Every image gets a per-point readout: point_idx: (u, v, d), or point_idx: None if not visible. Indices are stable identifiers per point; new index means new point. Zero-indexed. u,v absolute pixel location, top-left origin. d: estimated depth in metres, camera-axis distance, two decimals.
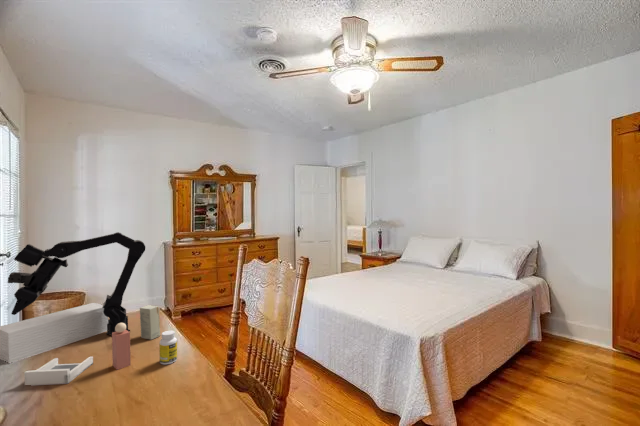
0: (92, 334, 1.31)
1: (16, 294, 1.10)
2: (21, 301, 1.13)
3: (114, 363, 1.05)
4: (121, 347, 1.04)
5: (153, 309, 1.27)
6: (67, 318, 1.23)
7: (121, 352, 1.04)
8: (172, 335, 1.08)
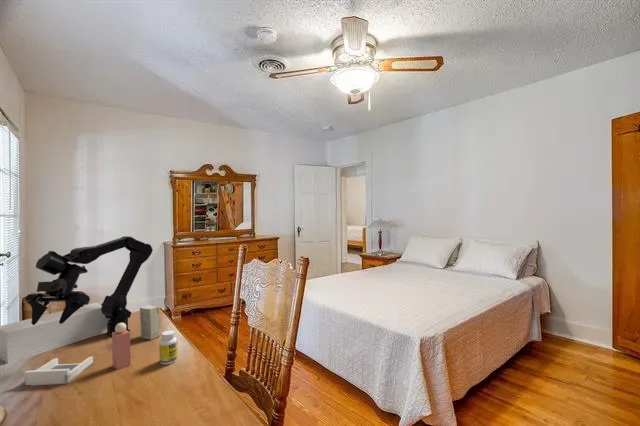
0: (92, 334, 1.30)
1: (79, 297, 1.09)
2: (70, 307, 1.09)
3: (114, 363, 1.05)
4: (121, 347, 1.04)
5: (153, 309, 1.27)
6: None
7: (121, 352, 1.04)
8: (172, 335, 1.08)
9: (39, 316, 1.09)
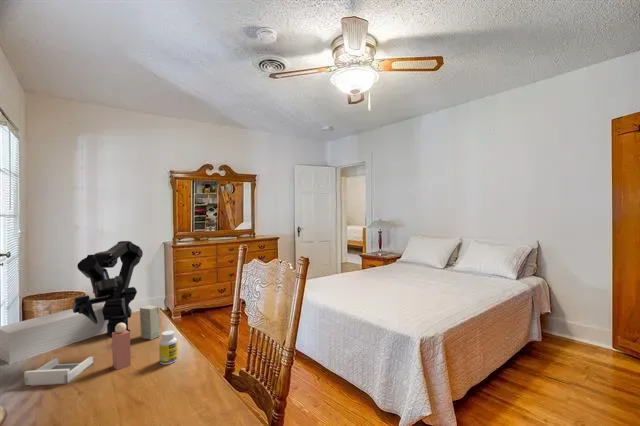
0: (93, 334, 1.30)
1: (136, 291, 1.20)
2: None
3: (114, 363, 1.05)
4: (121, 347, 1.04)
5: (153, 309, 1.27)
6: (68, 318, 1.23)
7: (121, 352, 1.04)
8: (172, 335, 1.08)
9: None
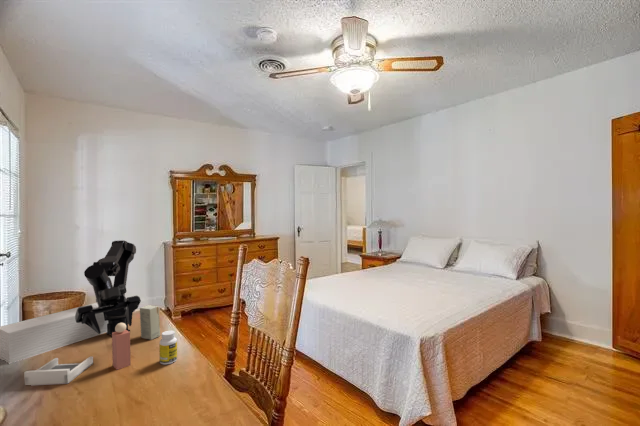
0: (93, 335, 1.30)
1: (140, 300, 1.18)
2: None
3: (114, 363, 1.05)
4: (121, 347, 1.04)
5: (153, 309, 1.27)
6: (68, 318, 1.23)
7: (121, 352, 1.04)
8: (172, 335, 1.08)
9: None
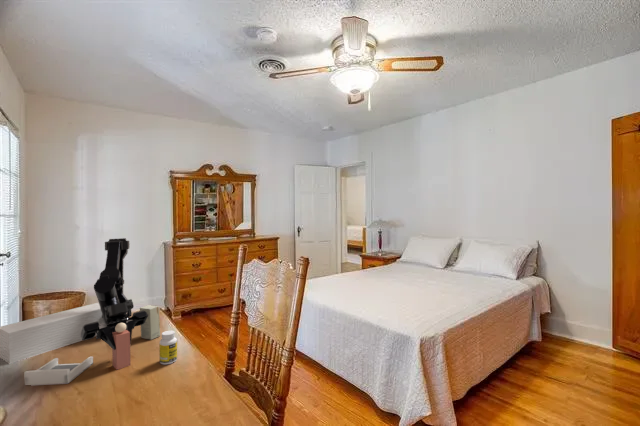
0: None
1: (147, 315, 1.14)
2: None
3: (114, 363, 1.05)
4: (121, 347, 1.04)
5: (153, 309, 1.27)
6: (69, 318, 1.23)
7: (121, 352, 1.04)
8: (172, 335, 1.08)
9: None
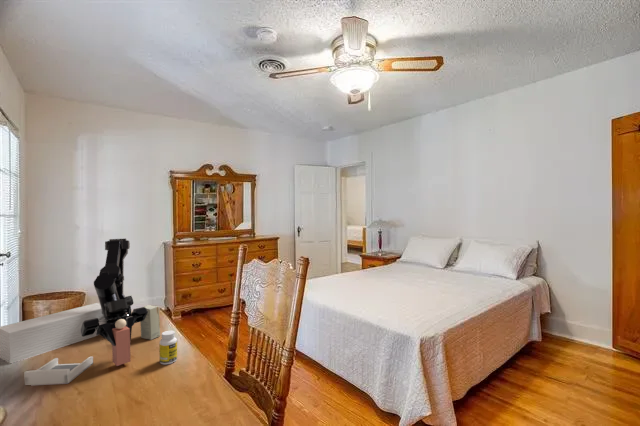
0: (94, 335, 1.30)
1: (147, 311, 1.14)
2: None
3: (114, 359, 1.05)
4: (121, 343, 1.04)
5: (153, 309, 1.27)
6: (69, 318, 1.23)
7: (121, 348, 1.04)
8: (172, 335, 1.08)
9: None
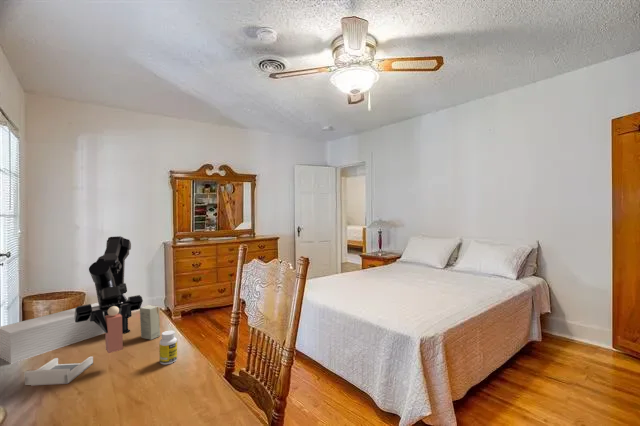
0: (94, 334, 1.30)
1: (142, 299, 1.13)
2: None
3: (106, 346, 1.04)
4: (113, 331, 1.03)
5: (153, 309, 1.27)
6: (69, 318, 1.23)
7: (113, 336, 1.03)
8: (172, 335, 1.08)
9: None
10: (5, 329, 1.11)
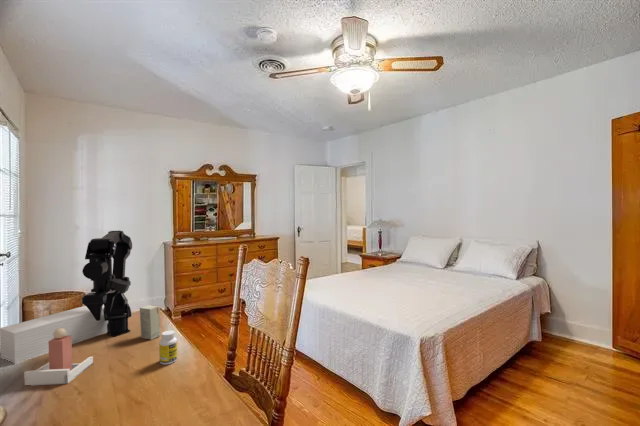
0: (96, 334, 1.31)
1: None
2: None
3: None
4: (53, 354, 0.99)
5: (153, 309, 1.27)
6: (72, 318, 1.23)
7: (53, 359, 0.99)
8: (172, 335, 1.08)
9: None
10: (8, 329, 1.10)
